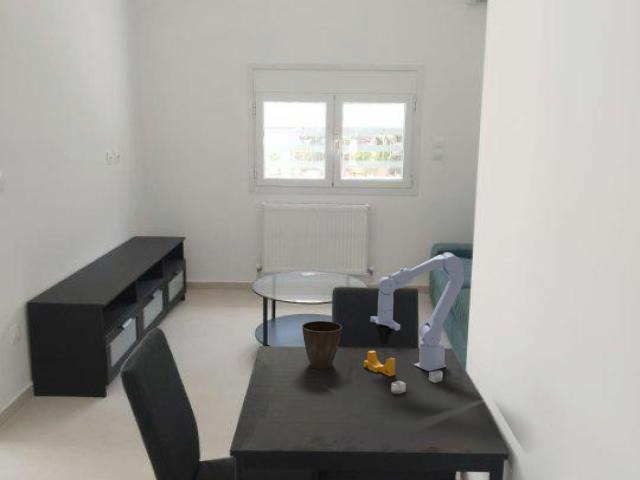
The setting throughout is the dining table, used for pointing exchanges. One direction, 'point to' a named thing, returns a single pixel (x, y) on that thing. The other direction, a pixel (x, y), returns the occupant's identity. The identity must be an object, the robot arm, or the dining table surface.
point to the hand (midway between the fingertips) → (384, 344)
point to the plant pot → (321, 342)
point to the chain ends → (400, 386)
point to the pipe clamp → (379, 364)
